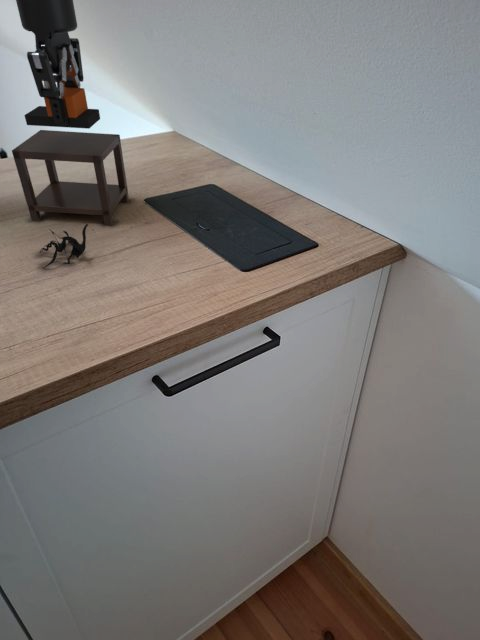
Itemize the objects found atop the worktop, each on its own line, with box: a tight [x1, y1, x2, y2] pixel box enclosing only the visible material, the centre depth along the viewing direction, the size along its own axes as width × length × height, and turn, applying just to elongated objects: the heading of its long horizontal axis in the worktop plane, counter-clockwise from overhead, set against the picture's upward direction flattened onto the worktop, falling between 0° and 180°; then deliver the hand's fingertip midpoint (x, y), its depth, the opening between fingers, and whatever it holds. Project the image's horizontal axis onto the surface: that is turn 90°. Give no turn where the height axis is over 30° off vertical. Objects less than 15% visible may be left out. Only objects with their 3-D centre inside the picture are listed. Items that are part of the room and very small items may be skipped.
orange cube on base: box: [24, 87, 101, 130], centre depth 77 cm, size 10×6×4 cm, turn 86°
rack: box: [11, 129, 130, 227], centre depth 85 cm, size 14×11×12 cm
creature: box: [39, 223, 89, 269], centre depth 74 cm, size 8×5×8 cm
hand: (69, 119), depth 78 cm, fingers closed on orange cube on base, 5 cm apart
